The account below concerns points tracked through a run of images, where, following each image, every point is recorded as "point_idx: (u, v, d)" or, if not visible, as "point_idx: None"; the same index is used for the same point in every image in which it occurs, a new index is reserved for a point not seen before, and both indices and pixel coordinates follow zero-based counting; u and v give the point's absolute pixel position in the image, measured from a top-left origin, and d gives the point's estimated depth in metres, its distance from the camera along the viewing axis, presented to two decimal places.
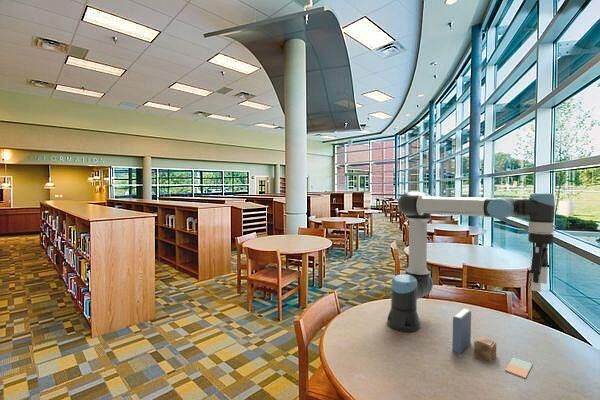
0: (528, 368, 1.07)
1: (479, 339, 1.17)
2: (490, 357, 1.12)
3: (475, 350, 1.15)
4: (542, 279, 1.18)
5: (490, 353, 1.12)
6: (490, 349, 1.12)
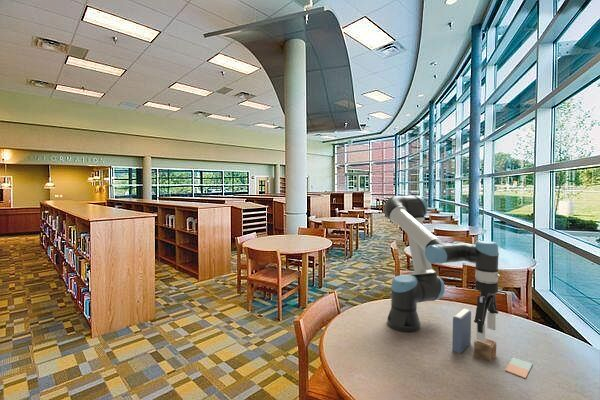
0: (528, 368, 1.07)
1: None
2: (490, 357, 1.12)
3: (475, 350, 1.15)
4: (491, 325, 1.19)
5: (490, 353, 1.12)
6: (490, 349, 1.12)
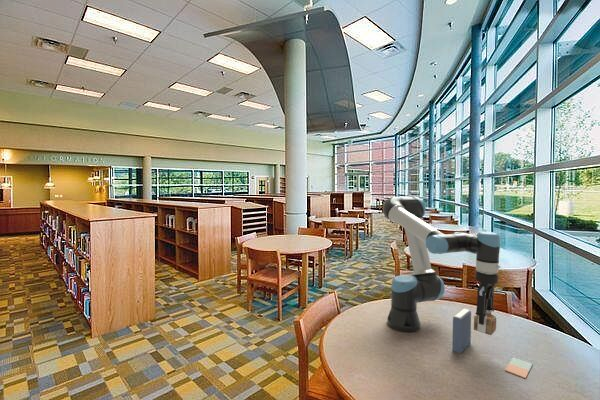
0: (528, 368, 1.07)
1: None
2: (490, 330, 1.12)
3: (475, 324, 1.15)
4: None
5: (490, 326, 1.12)
6: (490, 323, 1.12)
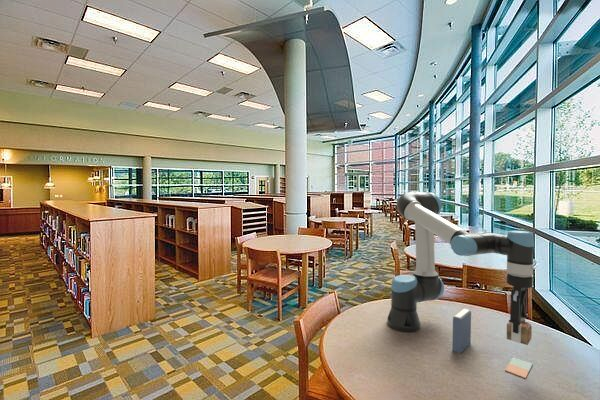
0: (528, 368, 1.07)
1: None
2: (526, 340, 1.01)
3: (508, 333, 1.05)
4: None
5: (526, 335, 1.01)
6: (526, 331, 1.01)
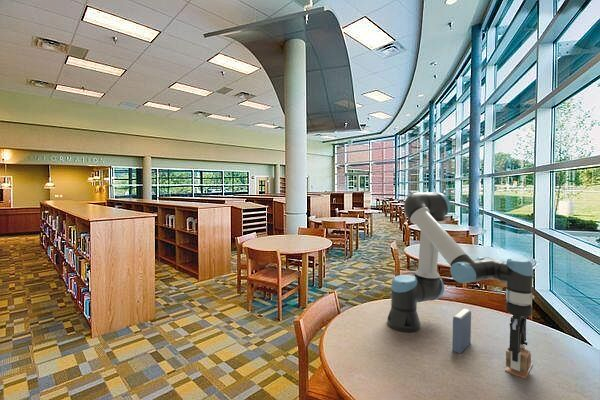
0: None
1: None
2: (525, 368, 1.01)
3: (507, 360, 1.05)
4: None
5: (525, 364, 1.01)
6: (525, 359, 1.01)
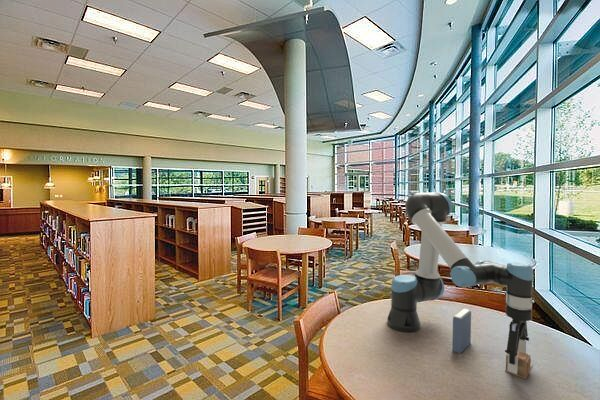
0: None
1: None
2: (525, 373, 1.01)
3: (507, 364, 1.05)
4: None
5: (525, 368, 1.01)
6: (525, 364, 1.01)
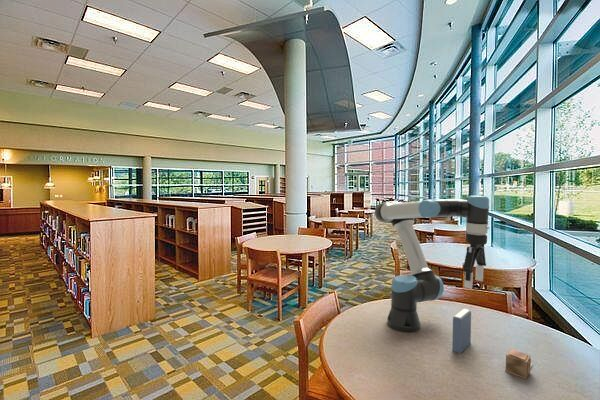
0: None
1: (511, 352, 1.06)
2: (525, 373, 1.01)
3: (507, 364, 1.05)
4: (479, 277, 1.25)
5: (525, 368, 1.01)
6: (525, 364, 1.01)
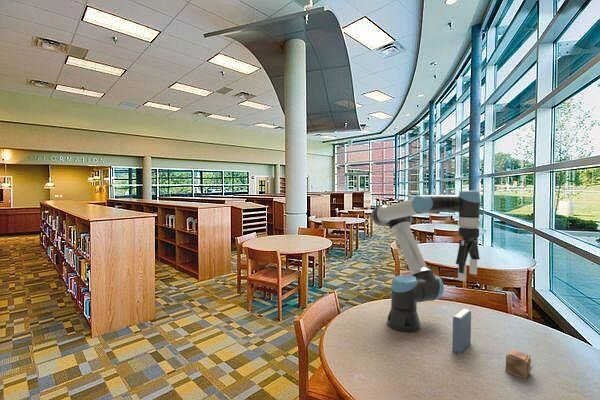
0: None
1: (511, 352, 1.06)
2: (525, 373, 1.01)
3: (507, 364, 1.05)
4: (473, 270, 1.28)
5: (525, 368, 1.01)
6: (525, 364, 1.01)
